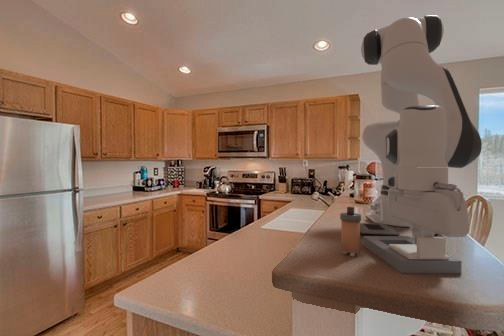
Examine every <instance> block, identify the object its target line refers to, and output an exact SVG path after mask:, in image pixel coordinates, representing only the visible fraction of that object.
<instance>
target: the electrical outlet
mask: <svg viewBox="0 0 504 336" xmlns="http://www.w3.org/2000/svg"><path fill="white" fill-rule="evenodd" d="M361 234H362V235H363V236H401V234H400V233H399V232H397V231H396V230H395V229H393V228H392V227H391V226H390V225H387V224H380V223H374V222H371V223H370V222H360V235H361Z"/></svg>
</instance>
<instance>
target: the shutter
mask: <svg viewBox="0 0 504 336" xmlns="http://www.w3.org/2000/svg"><path fill="white" fill-rule="evenodd" d="M389 247H390V248H391V249H393V250H395V251H396V252H398V253H400V254H401V255H403V256H405V257H406V258H408V259H449V256H450V255H449V256H447V255H448V254H447V255H445V254H446V237H444V236H433V237H417V246H416V245H414V244H389Z"/></svg>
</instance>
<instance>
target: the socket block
mask: <svg viewBox="0 0 504 336" xmlns="http://www.w3.org/2000/svg"><path fill="white" fill-rule="evenodd" d="M362 244H363V246H364V247H365V248H366V249H367V250H369V251H370V252H371V253H373V254H374V255H376V256H377V257H378V258H380V259H381V260H382V261H384V262H385V263H386V264H388V265H389V266H390V267H392V268H393V269H395V271H397V272H398V273H400V274H462V260H461V259H457V258H456V257H454V256H451V255H449V254H447V253H445V255H447V256H449V259H408V258H406V257H405V256H403V255H401V254H400V253H398V252H396V251H395V250H393V249H391V248H390V247H389V244H414V243H413V237H411V236H408V235H399V236H370V235H363V236H362Z"/></svg>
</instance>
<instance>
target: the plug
mask: <svg viewBox="0 0 504 336" xmlns="http://www.w3.org/2000/svg"><path fill="white" fill-rule="evenodd" d="M339 217H340V218H339V220H341V227H340V228H341V229H340V230H341V233H340V235H341V239H340V240H341V244H340V246H341V250H342V254H344V255H348V254H349V256H350V257H352V258H353V257H354V258H355V257H356V254H357V253H360V251H361V248H360V247H361V232H360V223H361V222H362V215H361V214H359V213H356V212H355V207H354V206H346V212H341V213H339Z"/></svg>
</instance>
